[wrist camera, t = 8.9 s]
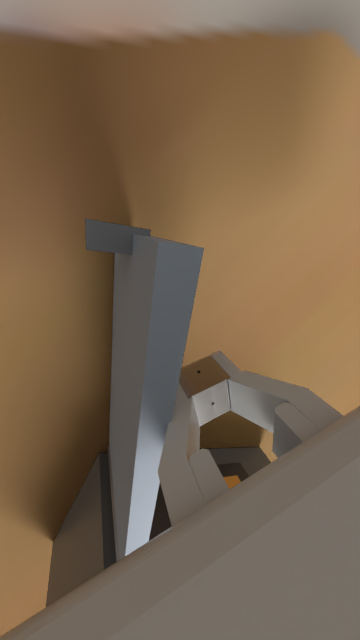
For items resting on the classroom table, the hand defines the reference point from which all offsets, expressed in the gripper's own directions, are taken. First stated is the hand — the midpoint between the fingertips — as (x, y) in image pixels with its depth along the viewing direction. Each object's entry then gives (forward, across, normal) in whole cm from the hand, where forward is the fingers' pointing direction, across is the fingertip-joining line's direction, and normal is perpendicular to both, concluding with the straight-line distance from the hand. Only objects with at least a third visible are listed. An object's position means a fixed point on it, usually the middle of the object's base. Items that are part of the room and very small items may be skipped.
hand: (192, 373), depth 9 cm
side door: (+6, +4, +2) cm, 7 cm away
